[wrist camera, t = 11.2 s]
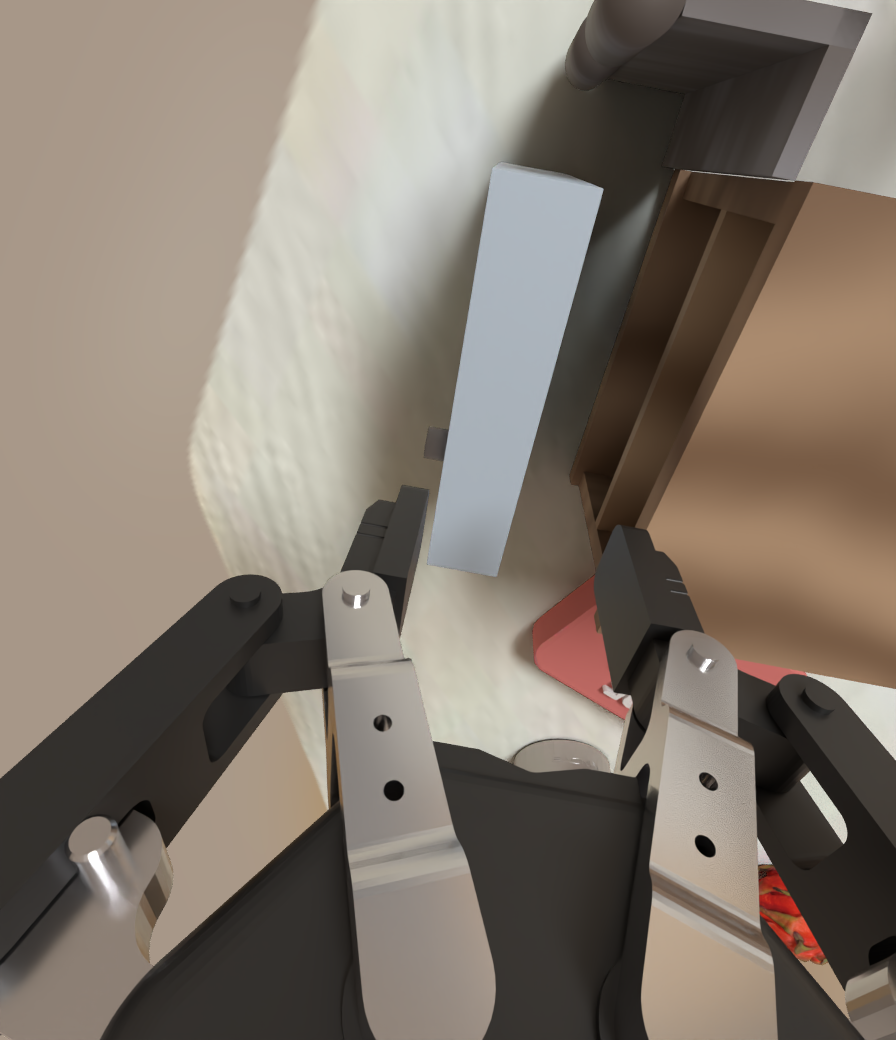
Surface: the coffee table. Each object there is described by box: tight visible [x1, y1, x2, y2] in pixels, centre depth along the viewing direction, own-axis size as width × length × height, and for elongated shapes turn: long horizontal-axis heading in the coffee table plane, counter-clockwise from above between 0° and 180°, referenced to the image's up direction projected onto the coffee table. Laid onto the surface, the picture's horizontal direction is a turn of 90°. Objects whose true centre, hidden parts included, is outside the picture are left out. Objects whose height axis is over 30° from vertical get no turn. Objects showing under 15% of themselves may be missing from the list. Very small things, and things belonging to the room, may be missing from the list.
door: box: [424, 162, 604, 577], centre depth 23 cm, size 4×14×12 cm, turn 171°
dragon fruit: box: [758, 865, 828, 965], centre depth 56 cm, size 8×8×12 cm
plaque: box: [532, 575, 807, 720], centre depth 38 cm, size 18×4×15 cm
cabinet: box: [565, 0, 896, 689], centre depth 21 cm, size 20×20×13 cm
